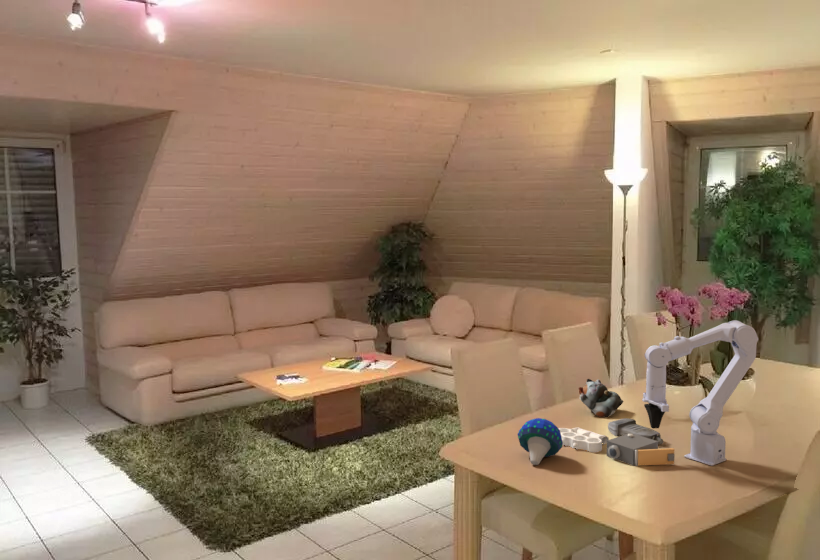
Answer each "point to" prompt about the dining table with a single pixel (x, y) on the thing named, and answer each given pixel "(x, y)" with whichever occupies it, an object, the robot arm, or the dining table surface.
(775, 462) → the dining table surface
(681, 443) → the dining table surface
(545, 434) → the mushroom
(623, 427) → the handheld device
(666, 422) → the dining table surface
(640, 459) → the side door
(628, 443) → the grey box with knob
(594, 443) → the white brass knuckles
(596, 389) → the lucky cat figurine
